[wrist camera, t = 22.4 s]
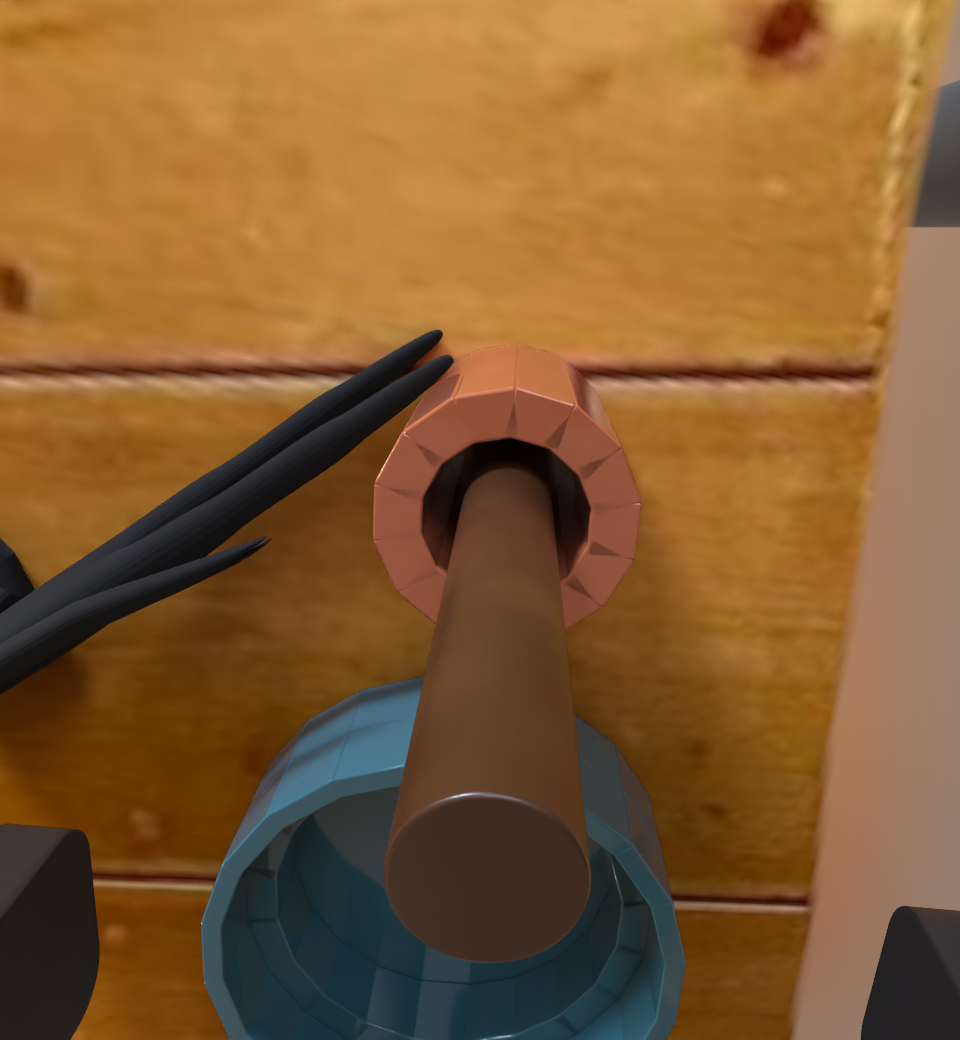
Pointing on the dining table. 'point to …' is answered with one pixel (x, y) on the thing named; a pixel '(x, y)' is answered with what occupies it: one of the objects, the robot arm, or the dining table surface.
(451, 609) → the stick
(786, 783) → the dining table surface
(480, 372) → the holder
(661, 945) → the bowl
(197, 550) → the black elongated part
